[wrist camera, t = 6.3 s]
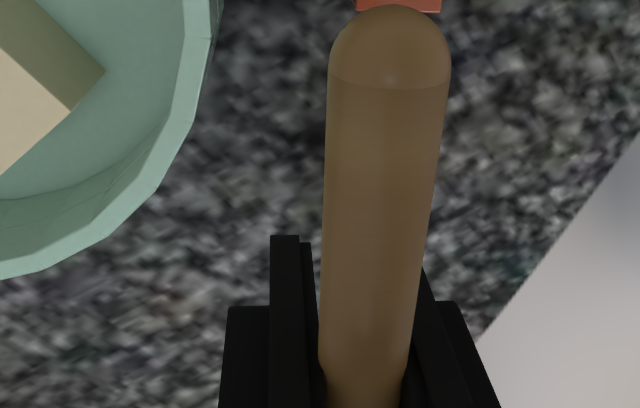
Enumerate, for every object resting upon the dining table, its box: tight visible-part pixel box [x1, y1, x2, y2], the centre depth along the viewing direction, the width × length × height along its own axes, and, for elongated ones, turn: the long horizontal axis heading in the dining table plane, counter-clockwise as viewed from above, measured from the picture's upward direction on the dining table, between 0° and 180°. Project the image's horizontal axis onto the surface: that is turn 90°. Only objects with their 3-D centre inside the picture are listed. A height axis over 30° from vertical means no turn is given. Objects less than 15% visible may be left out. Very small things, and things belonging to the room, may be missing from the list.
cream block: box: [0, 0, 106, 175], centre depth 20 cm, size 4×4×4 cm
